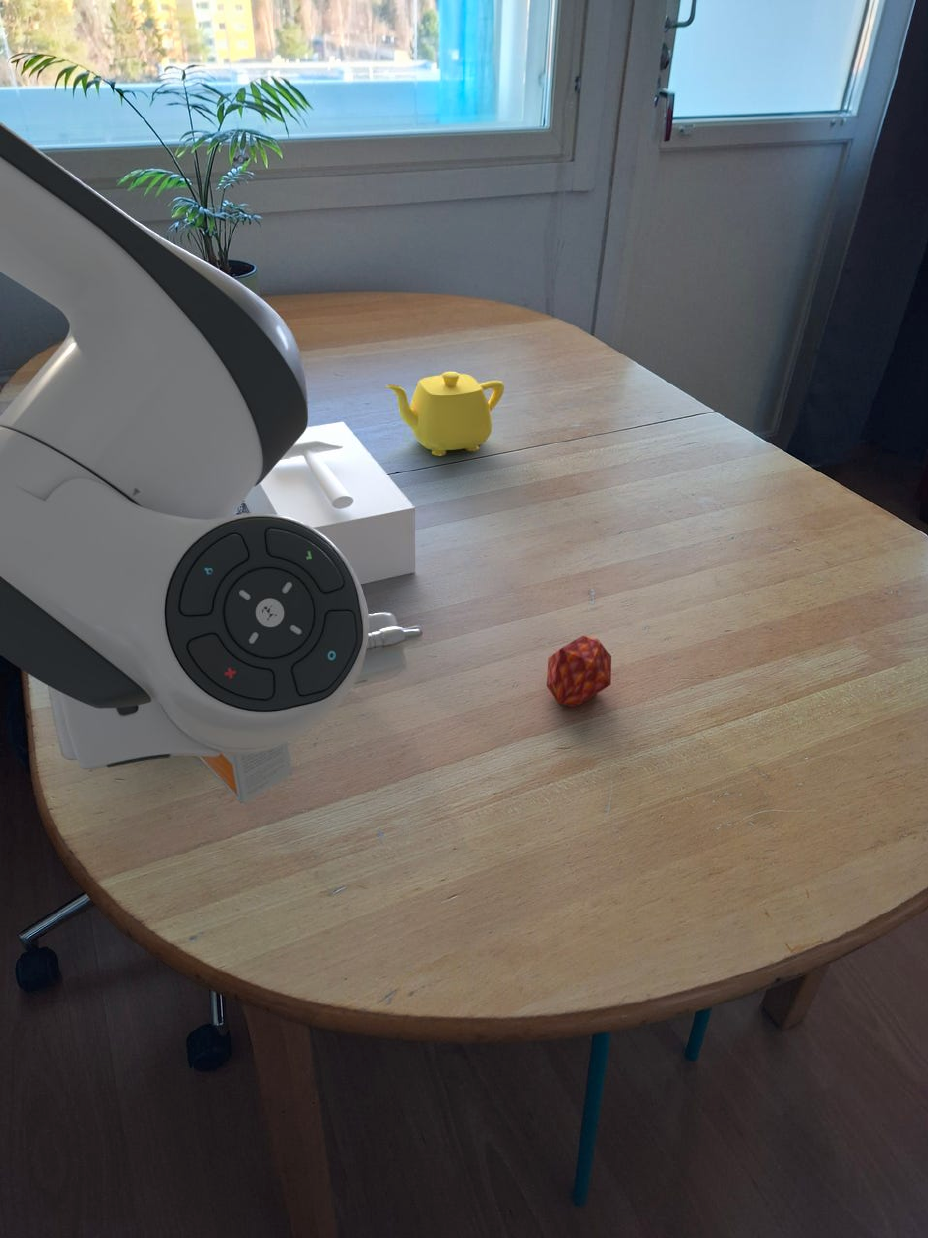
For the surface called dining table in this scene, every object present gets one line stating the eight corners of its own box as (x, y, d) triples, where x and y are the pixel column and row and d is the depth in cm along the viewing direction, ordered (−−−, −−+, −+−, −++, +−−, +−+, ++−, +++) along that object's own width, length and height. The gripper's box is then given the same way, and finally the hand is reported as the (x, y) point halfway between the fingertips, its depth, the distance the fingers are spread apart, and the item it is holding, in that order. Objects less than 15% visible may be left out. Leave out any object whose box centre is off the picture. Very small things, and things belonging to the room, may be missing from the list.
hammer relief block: (346, 480, 121) (342, 405, 114) (415, 572, 103) (414, 488, 96) (242, 499, 116) (231, 421, 109) (295, 599, 97) (286, 513, 91)
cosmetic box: (196, 758, 62) (168, 624, 55) (248, 731, 65) (228, 599, 57) (241, 808, 59) (218, 672, 52) (295, 777, 61) (280, 643, 54)
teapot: (398, 467, 124) (397, 395, 118) (377, 436, 132) (374, 367, 126) (515, 451, 129) (519, 381, 123) (487, 421, 138) (490, 354, 131)
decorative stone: (538, 709, 87) (578, 648, 90) (595, 733, 83) (635, 668, 86) (519, 674, 83) (562, 611, 86) (579, 697, 79) (622, 630, 82)
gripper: (417, 573, 49) (369, 617, 62) (20, 651, 42) (60, 683, 55) (444, 682, 48) (390, 703, 61) (46, 779, 42) (80, 780, 55)
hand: (231, 694), depth 58 cm, fingers closed on cosmetic box, 5 cm apart
